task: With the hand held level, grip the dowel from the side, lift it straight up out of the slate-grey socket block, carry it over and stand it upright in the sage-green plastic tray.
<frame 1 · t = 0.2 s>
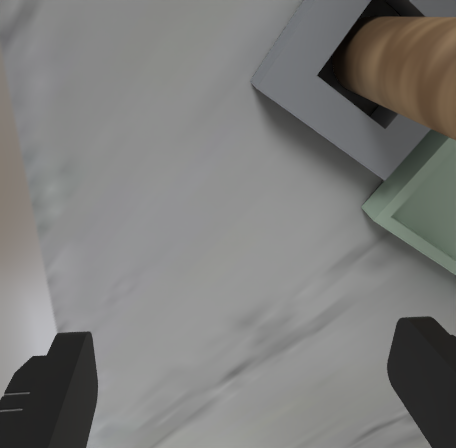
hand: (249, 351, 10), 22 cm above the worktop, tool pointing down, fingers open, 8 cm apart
socket block: (367, 56, 28), on the worktop
dowel: (418, 68, 21), in the socket block
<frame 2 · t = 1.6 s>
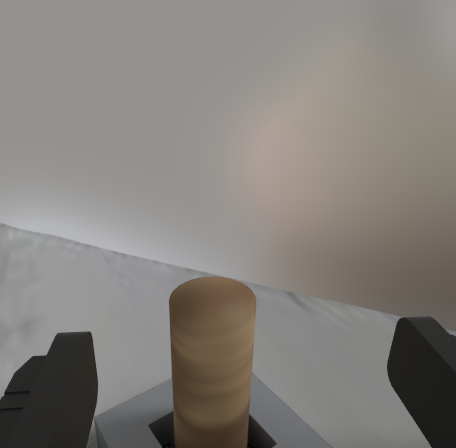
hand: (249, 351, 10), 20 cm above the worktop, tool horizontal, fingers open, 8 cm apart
dowel: (211, 390, 25), in the socket block
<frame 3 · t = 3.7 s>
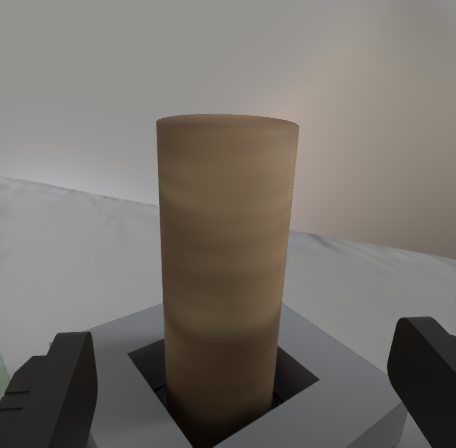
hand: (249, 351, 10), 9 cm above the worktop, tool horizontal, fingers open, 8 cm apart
socket block: (218, 414, 19), on the worktop
dowel: (222, 292, 16), in the socket block
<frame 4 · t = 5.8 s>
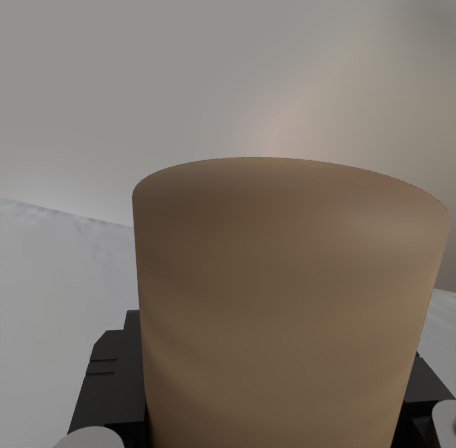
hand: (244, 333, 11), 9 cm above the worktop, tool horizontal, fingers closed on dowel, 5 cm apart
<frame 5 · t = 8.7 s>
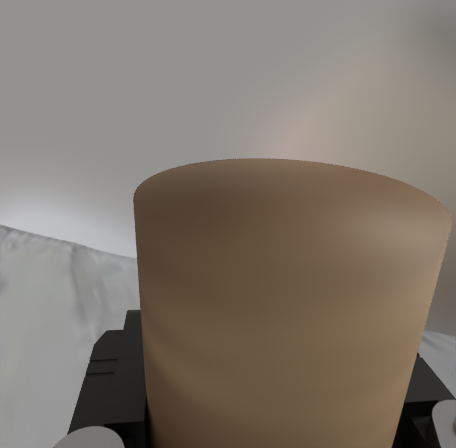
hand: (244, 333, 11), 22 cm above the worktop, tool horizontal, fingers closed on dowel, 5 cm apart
when the fingers open (11 cm above the worktop, at t = 11.5 s): dowel stays where it is, resting on tray.
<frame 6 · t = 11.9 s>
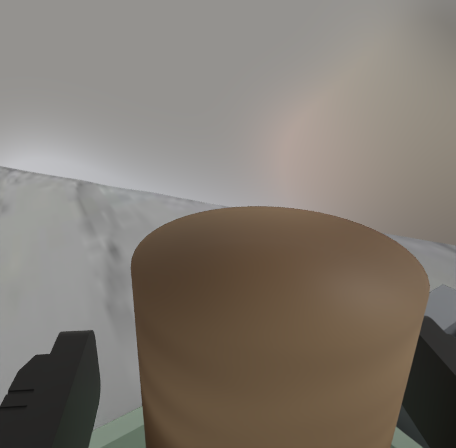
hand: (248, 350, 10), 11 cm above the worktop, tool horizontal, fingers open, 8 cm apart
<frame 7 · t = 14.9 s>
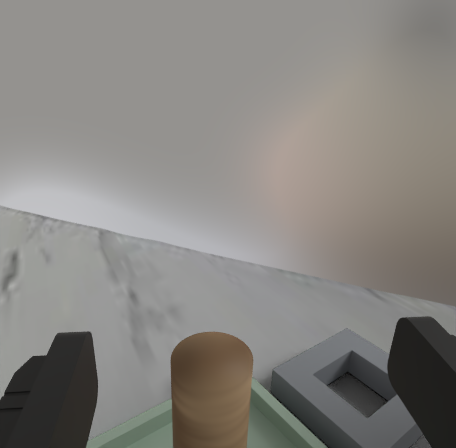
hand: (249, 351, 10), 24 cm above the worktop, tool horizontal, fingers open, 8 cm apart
socket block: (354, 403, 40), on the worktop
dowel: (210, 439, 26), in the tray, point 8 cm above the worktop
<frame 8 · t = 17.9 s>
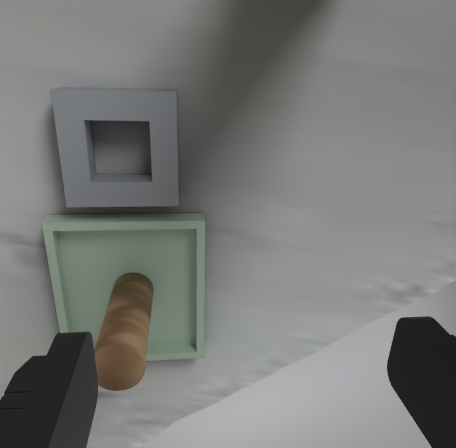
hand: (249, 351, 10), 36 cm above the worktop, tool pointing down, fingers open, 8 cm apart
tray: (133, 286, 50), on the worktop
socket block: (123, 146, 43), on the worktop
dowel: (126, 323, 43), in the tray, point 8 cm above the worktop
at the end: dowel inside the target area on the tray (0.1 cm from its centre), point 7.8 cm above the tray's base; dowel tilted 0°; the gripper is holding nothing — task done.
